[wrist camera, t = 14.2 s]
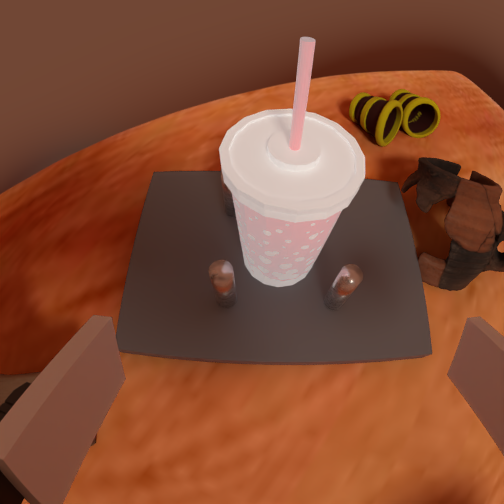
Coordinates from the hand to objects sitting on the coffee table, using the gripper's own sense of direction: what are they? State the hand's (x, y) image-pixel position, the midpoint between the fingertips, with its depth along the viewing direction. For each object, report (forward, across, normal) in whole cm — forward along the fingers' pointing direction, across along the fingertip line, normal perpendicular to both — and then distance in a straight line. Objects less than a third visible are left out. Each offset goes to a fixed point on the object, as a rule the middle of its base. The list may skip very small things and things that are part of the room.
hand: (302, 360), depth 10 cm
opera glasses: (+23, +12, +11) cm, 29 cm away
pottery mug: (+13, +14, +1) cm, 20 cm away
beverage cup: (+11, 0, 0) cm, 11 cm away
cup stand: (+12, 0, 0) cm, 12 cm away
